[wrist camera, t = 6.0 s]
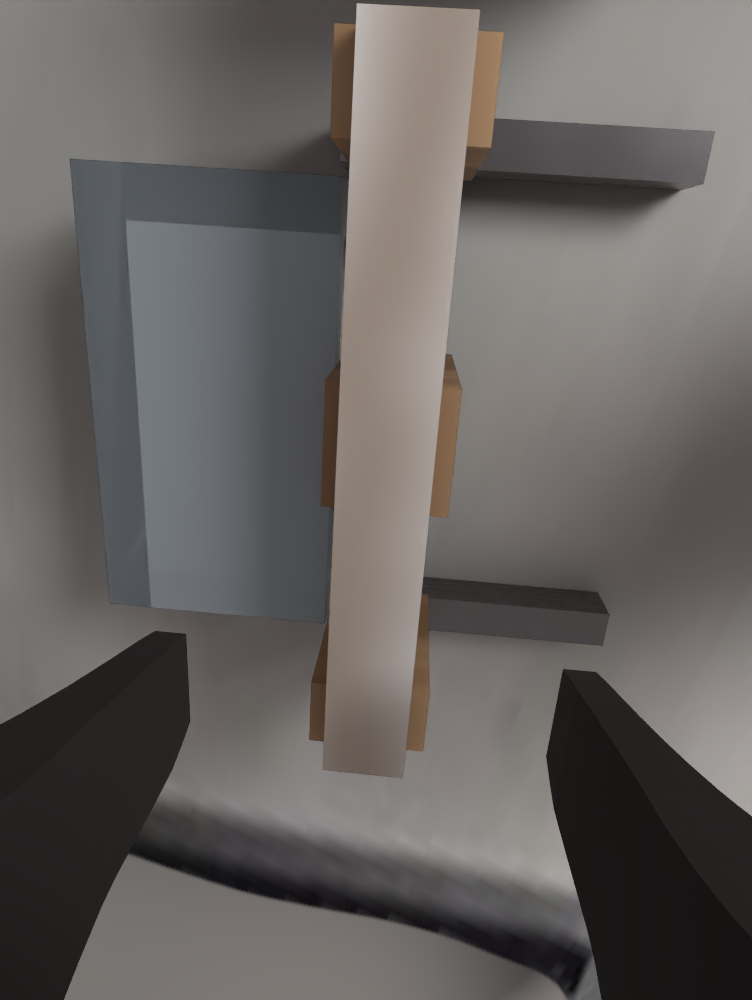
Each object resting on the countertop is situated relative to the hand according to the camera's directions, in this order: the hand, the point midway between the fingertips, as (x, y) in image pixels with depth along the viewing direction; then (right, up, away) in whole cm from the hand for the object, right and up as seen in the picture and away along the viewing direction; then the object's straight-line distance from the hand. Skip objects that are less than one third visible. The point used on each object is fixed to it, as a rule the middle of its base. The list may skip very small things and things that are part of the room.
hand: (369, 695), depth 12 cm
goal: (-3, +7, +9) cm, 12 cm away
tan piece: (+1, +7, +8) cm, 11 cm away
